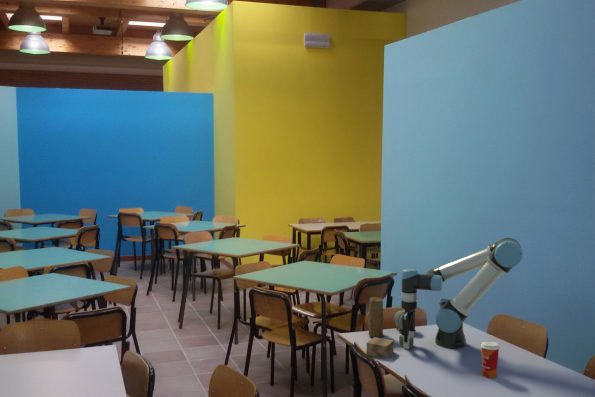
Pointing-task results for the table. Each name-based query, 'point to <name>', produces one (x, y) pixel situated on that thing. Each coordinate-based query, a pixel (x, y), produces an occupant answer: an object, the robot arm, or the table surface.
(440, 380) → the table surface
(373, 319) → the brown oblong lump
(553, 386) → the table surface
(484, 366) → the paper cup
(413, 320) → the robot arm
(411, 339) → the dice cube
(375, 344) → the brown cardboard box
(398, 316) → the cream beehive honey pot
